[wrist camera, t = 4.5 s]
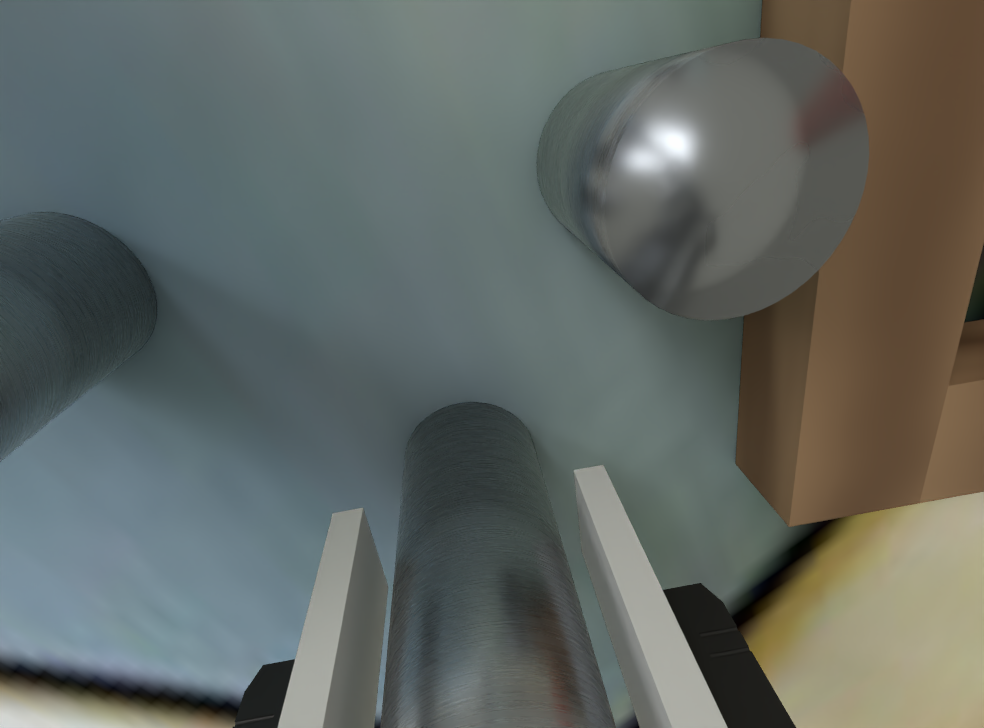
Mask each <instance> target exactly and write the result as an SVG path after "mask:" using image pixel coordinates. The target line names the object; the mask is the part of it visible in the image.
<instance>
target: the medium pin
mask: <svg viewBox="0 0 984 728" xmlns="http://www.w3.org/2000/svg"><path fill="white" fill-rule="evenodd" d="M156 315H157V304H156V297H155V292H154V289H153V286H152V283H151V280H150V279H149V277H148V275H147V273H146V271H145V269H144V268H143V266H142V265H141V263H140V262H139V260H138V259H137V258H136V257H135V255H134V254H133V253H132V252H131V251H130V250H129V249H128V248H127V247H126V246H125V245H124V244H123V243H122V242H121V241H119V240H118V239H117V238H116V237H114V236H113V235H112V234H110V233H108V232H107V231H105V230H104V229H102V228H100V227H98V226H96V225H94V224H93V223H91V222H88V221H86V220H83V219H80V218H78V217H74V216H70V215H66V214H60V213H54V212H37V213H28V214H24V215H20V216H16V217H12V218H8V219H4V220H0V462H1V461H2V460H3V459H5V458H6V457H7V456H8V455H9V454H11V453H12V452H13V451H14V450H16V449H17V448H18V447H19V446H21V445H22V444H23V443H24V442H26V441H27V440H28V439H29V438H31V437H32V436H33V435H34V434H36V433H37V432H38V431H39V430H41V429H42V428H43V427H44V426H45V425H47V424H48V423H49V422H50V421H52V420H53V419H54V418H55V417H57V416H58V415H59V414H60V413H62V412H63V411H64V410H65V409H67V408H68V407H69V406H70V405H72V404H73V403H74V402H75V401H77V400H78V399H79V398H80V397H81V396H83V395H84V394H85V393H86V392H88V391H89V390H90V389H91V388H93V387H94V386H95V385H96V384H98V383H99V382H100V381H101V380H103V379H104V378H105V377H106V376H108V375H109V374H110V373H111V372H113V371H114V370H115V369H116V368H117V367H119V366H120V365H121V364H122V363H124V362H125V361H126V360H127V359H129V358H130V357H131V356H132V355H134V354H135V353H136V352H137V351H139V350H140V349H141V348H142V347H143V346H144V344H145V343H146V342H147V341H148V339H149V337H150V336H151V334H152V331H153V329H154V326H155V322H156Z"/></svg>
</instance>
